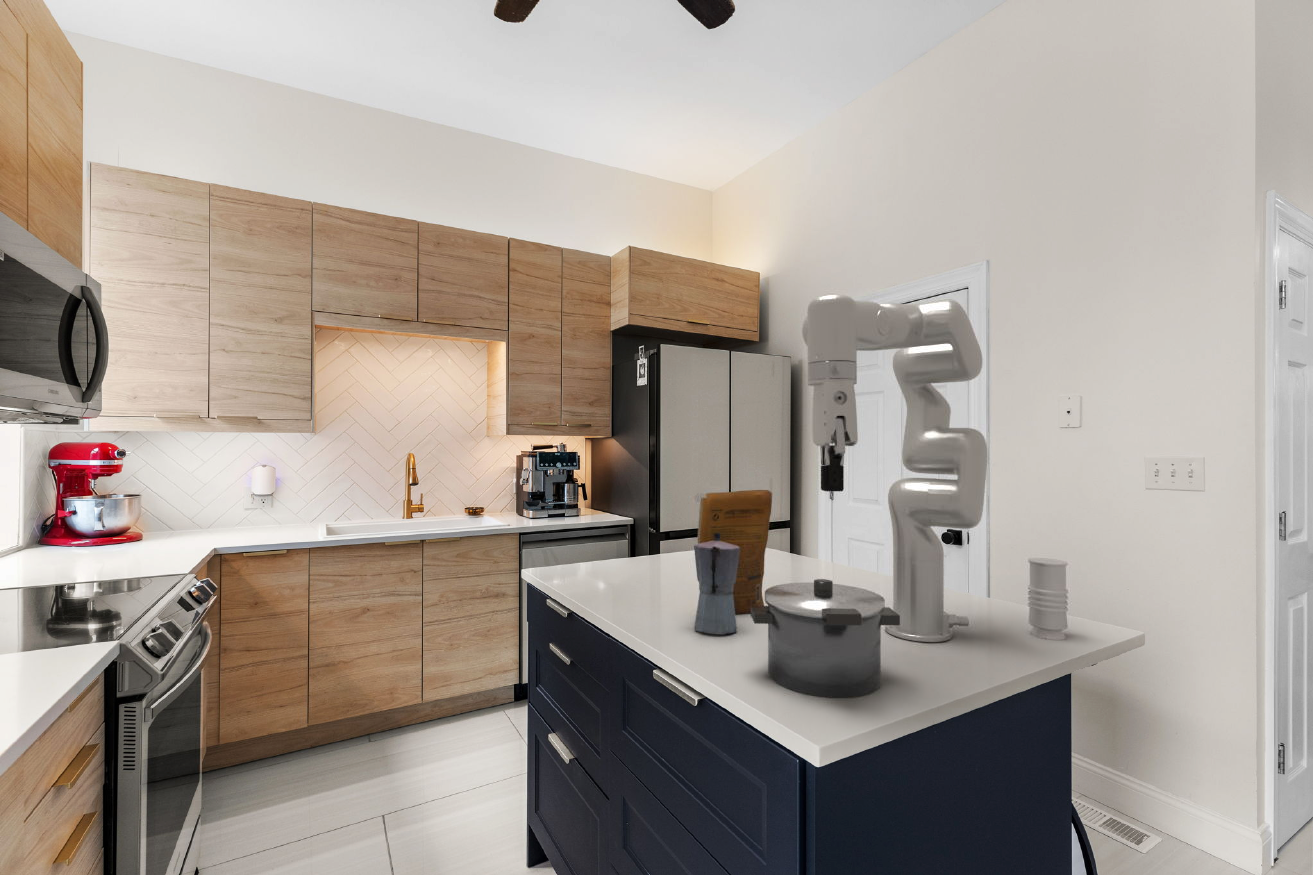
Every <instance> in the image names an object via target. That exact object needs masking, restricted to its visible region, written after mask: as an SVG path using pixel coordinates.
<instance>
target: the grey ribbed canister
mask: <svg viewBox="0 0 1313 875" xmlns="http://www.w3.org/2000/svg"><path fill="white" fill-rule="evenodd" d="M1027 562H1028V563H1029V585H1027V590H1028V592H1027V595H1028V597H1027V601H1028V602H1027V606H1028V607H1029V610H1028V622H1027V623H1028V624H1029V625H1030V626H1032V627H1033V628H1032V630H1031V631H1030V634H1031V635H1032V636H1034V637H1036V638H1040V639H1045V638H1046V639H1045V640H1053V641H1057V640H1059V641H1060V640H1061V641H1062V640H1064V638H1065V639H1066V636H1065V634H1064V632H1063V631H1064V630H1067V629H1068V627H1069V626H1068V618H1067V612H1068V611H1069V608H1068V605H1069V602H1068V600H1069V597H1068V593H1069V591H1068V589H1067V566H1068V565H1069V564H1068V562H1067V561H1065V560H1061V559H1055V558H1045V557H1032V558H1028V559H1027Z"/></svg>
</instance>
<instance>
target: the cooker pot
mask: <svg viewBox="0 0 1313 875" xmlns="http://www.w3.org/2000/svg"><path fill="white" fill-rule="evenodd" d="M750 617H751V619H752V622H753V623H754V624H757V625H758V624H760V625H764V624H765V625H767V673H768V676H769V678H770V679H771V680H772V681H773V682H774V683H776V684H777V685H779V686H780V687H783V688H785V689H787V690H790V691H792V692H796V693H799V694H804V695H809V696H812V697H820V698H829V699H848V698H851V699H852V698H858V697H863V696H866V695H870V694H872V693H874V692H876V691H878V690H879V688H880V687H881V685H882V681H881V680H882V679H881V678H882V676H881V674H882V672H881V670H882V668H881V667H882V665H881V664H882V663H881V662H882V661H881V660H882V658H881V657H882V655H881V654H882V651H881V648H882V645H881V644H882V642H881V641H882V638H881V637H882V634H881V633H882V632H881V631H882V628H881V627H882V626H885V625H900V615H898V614H897V613H896V612H895V611H893V608H891V607H888V606H886V607H885V610H884V611H883V612H882V613H880V614H878V615H875V616H871V617H866V618H861V625H827V624H826V623H825V622H824V621H823V620H822V618H813V617H806V616H800V615H795V614H790V613H786V612H783V611H780V610H777V609H774V608H772V607H770V606H769V605H768V604H767V605H764V606H751V613H750Z"/></svg>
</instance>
